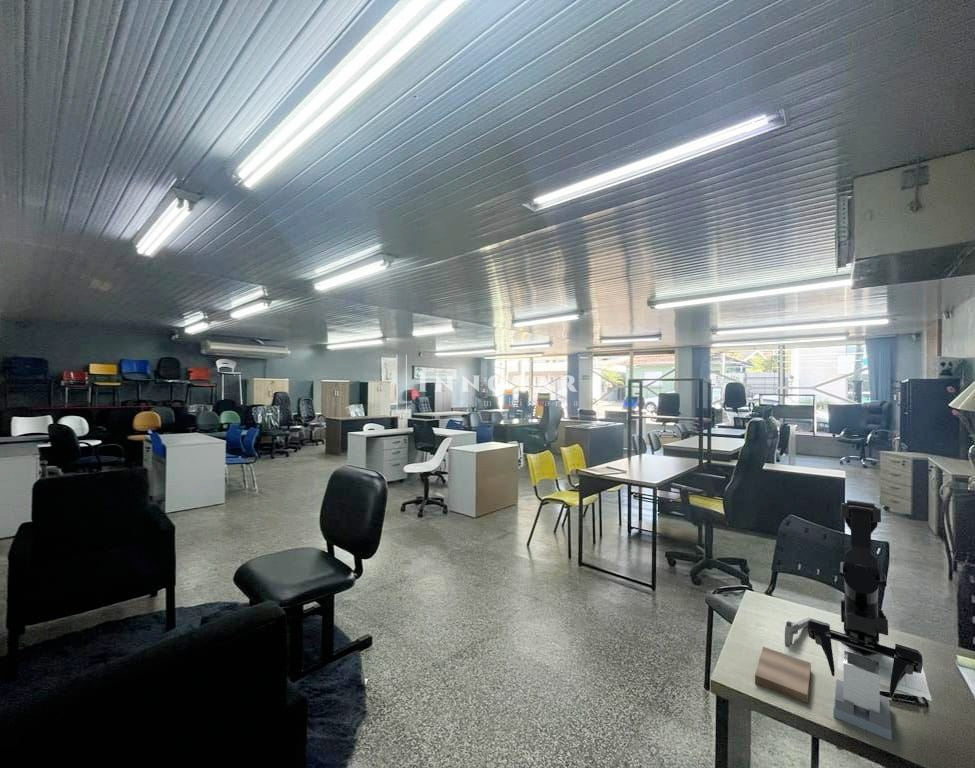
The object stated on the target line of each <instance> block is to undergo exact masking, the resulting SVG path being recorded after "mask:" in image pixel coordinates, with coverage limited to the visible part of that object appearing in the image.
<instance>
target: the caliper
mask: <svg viewBox="0 0 975 768" xmlns="http://www.w3.org/2000/svg"><path fill="white" fill-rule="evenodd" d="M810 619H813V618H811V617H809V616H807V617H806V618H803V619H801V620H799V621H797V622H795V621H793V622H792V621H789V620H788V621H785V622H786V623H785V624H786V625H785V628H784V644H785V646H788V647H791V645H792V644H793V640H794V635H797V634H798V633H799V630H802V629H805V628H806V627H808V620H810Z"/></svg>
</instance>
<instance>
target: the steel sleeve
mask: <svg viewBox="0 0 975 768" xmlns="http://www.w3.org/2000/svg"><path fill="white" fill-rule="evenodd" d="M880 679H881V678H880V661H878V660H875V659H872V658H868V657H867V656H864V655H863V656H862V655H860V654H856V653H853V652H850V651H846V650H844V653H843V682H844V701H847V702H849V703H852V704H854V705H857V706H860V707H862V708H865V709H867V710H870V711H873V712H875V713H878V714H880V695H881V693H880V690H881V689H880V688H881V687H880V686H881V685H880Z"/></svg>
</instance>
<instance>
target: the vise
mask: <svg viewBox="0 0 975 768" xmlns="http://www.w3.org/2000/svg"><path fill="white" fill-rule="evenodd" d="M834 686H835V687H834V696H833V698H834V699H833V709H832V710H833V718H835V719H838V720H840V721H843V722H845V723H847V724H850V725H853V726H855V727H858V728H860V729H862V730H865V731H868V732H870V733H872V734H875V735H877V736H880V737H881V738H884V739H887V740H889V741H893V739H892V737H893V736H892V735H893V734H892V733H893V732H892V719H891V706H890V699H889V698H888V696H884V695H882V694H880V714H878V713H875V712H873V711H870V710H867V709H865V708H862V707H860V706H857V705H854V704H852V703H849V702H847V701H844V680H840V679H836V680H835V685H834Z"/></svg>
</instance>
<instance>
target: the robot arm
mask: <svg viewBox="0 0 975 768" xmlns="http://www.w3.org/2000/svg"><path fill="white" fill-rule="evenodd" d="M875 505H876V503H872V502H865V501H859V500H852V499H851V500H850V499H846V502H842V503H840V508H841V509H840V510H841V511H840V512H841V514H840V515H841V517H842V518H843V517H844V522H845V524H846V526H847V528H848V529H849V530H850V549H848V550H847V551H845V552H844V561H840V568H839V579H840V580H844V592H845V593H844V594H843V596H844V597H843V598H844V599H843V598H842V599H840V618H841V619H840V620H841V623H843V632H844V633H843V632H839V631H836V630H833V629H831V626H830V623H828V622H824V621H821V620H817V619H814V618H812V619H810V620H808V626H807V633H808V637H809V638H810V639H811V640H813V641H815V644H816V645H818V646H821V649H822V650H823V653H824V654H825V657H826V660H827V663H828V667H829V671H830V674H831V676H832V677H835V673H836V672H835V671H836V670H835V669H836V668H835V662H834V654H833V646H832V640H833V641H837V642H840V643H843V644H844V645H846V646H848V647H850V648H851V649H853V650H855V651H857V652H858V653H860V654H862V655H863V656H872V655H876V654H878V655H880V656H884V657H888V658H891V659H893V663H892V672H891V677H890V678H891V679H890V683H889V684H890V685H889V698H894V695H895V694H896V691H897V688H898V686H899V684H900V682H901V680H902V679H903V678H904V677H905V676H906V675H910V676H911V675H913V673H916V674H922V670H923V665H924V664H923V654H922V653H921V652H920V651H919V650H918V649H915V648H912V647H908V646H905V645H901V644H898V643H895V645H894V648H893V647H888V646H885V645H882V644H879V643H880V635H884V636H889V619H887V616H886V615H885V614H884V611H883V609H880V602H879V600H878V599H879V589H884V587H887V583H888V582H887V576H886V575H885V573H884V571H883V570H881V569H879V560H878V558H877V557H876V556H875V555H874V554H873V553H872V534H873V533H874V531H875V530H877V527H878V524H879V523H882V509H881V507H877V506H875Z"/></svg>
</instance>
